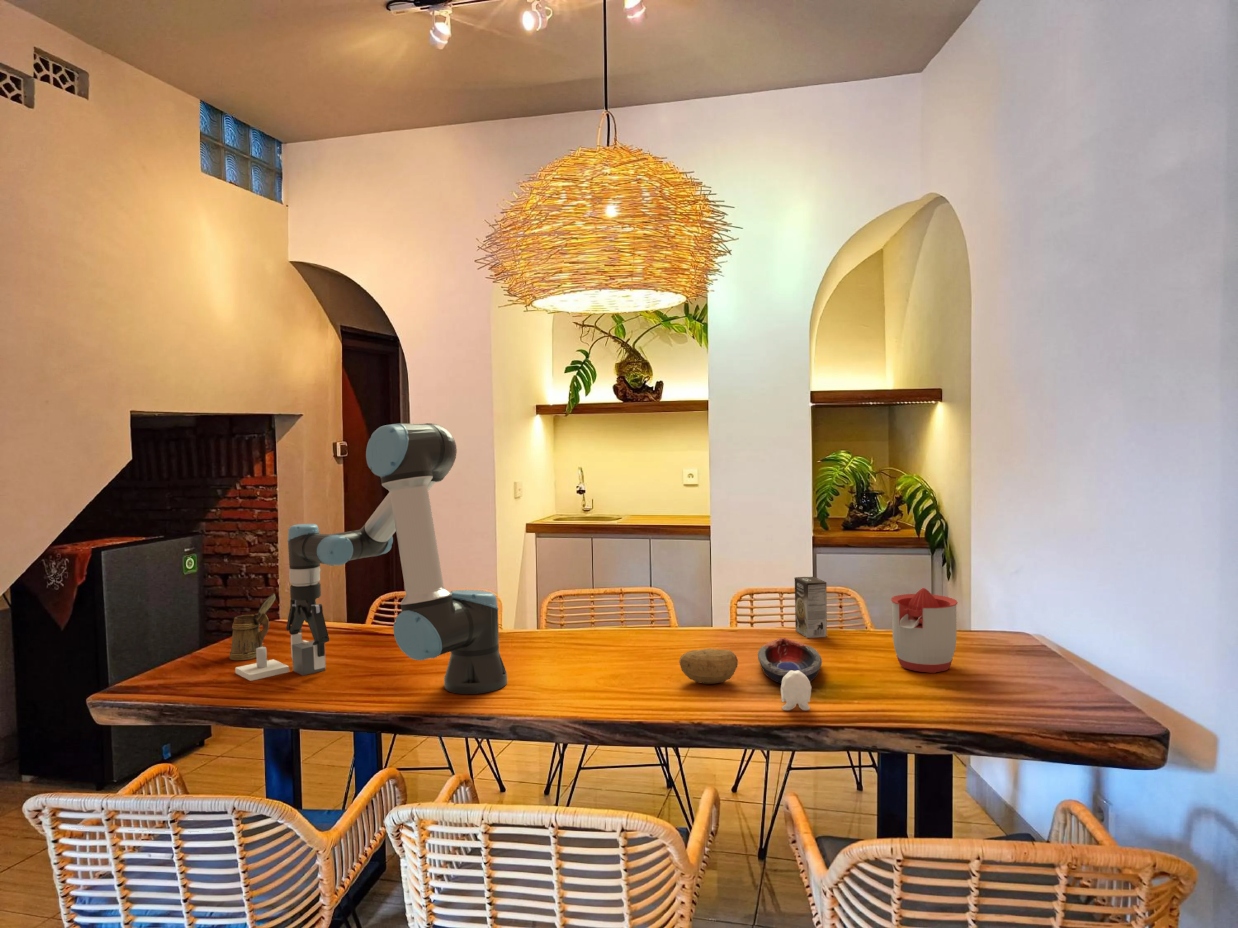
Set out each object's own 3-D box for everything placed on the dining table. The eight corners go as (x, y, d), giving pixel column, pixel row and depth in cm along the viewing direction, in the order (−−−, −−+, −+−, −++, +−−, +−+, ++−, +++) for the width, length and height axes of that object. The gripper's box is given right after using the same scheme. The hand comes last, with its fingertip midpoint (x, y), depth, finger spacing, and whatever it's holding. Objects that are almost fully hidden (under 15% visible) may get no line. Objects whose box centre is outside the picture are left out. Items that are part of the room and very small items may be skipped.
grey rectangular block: (325, 670, 217) (324, 641, 217) (303, 675, 213) (301, 646, 213) (315, 665, 222) (313, 637, 221) (293, 670, 218) (291, 642, 217)
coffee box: (794, 630, 246) (793, 577, 245) (814, 629, 247) (814, 575, 246) (806, 638, 237) (806, 582, 236) (827, 636, 238) (827, 581, 237)
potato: (680, 676, 205) (679, 644, 204) (737, 677, 203) (737, 644, 203) (678, 688, 195) (677, 655, 195) (738, 689, 193) (737, 656, 193)
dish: (758, 689, 194) (758, 668, 193) (757, 653, 224) (757, 635, 224) (826, 691, 191) (826, 670, 191) (816, 654, 221) (816, 636, 221)
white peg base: (289, 671, 217) (288, 647, 216) (250, 680, 210) (249, 655, 209) (273, 664, 224) (272, 640, 224) (235, 673, 217) (234, 648, 217)
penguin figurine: (782, 673, 176) (775, 662, 188) (783, 714, 176) (776, 700, 188) (812, 673, 176) (803, 662, 188) (813, 713, 175) (804, 700, 187)
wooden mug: (269, 660, 228) (266, 596, 227) (222, 660, 229) (219, 596, 228) (285, 651, 237) (282, 589, 236) (240, 651, 238) (237, 589, 237)
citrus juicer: (876, 669, 206) (876, 590, 205) (908, 654, 218) (908, 579, 217) (938, 682, 195) (937, 598, 194) (968, 665, 207) (967, 586, 206)
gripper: (341, 587, 210) (344, 669, 211) (298, 575, 228) (301, 651, 229) (312, 591, 205) (315, 676, 206) (271, 579, 223) (274, 656, 224)
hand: (308, 663), depth 218 cm, fingers open, 13 cm apart
